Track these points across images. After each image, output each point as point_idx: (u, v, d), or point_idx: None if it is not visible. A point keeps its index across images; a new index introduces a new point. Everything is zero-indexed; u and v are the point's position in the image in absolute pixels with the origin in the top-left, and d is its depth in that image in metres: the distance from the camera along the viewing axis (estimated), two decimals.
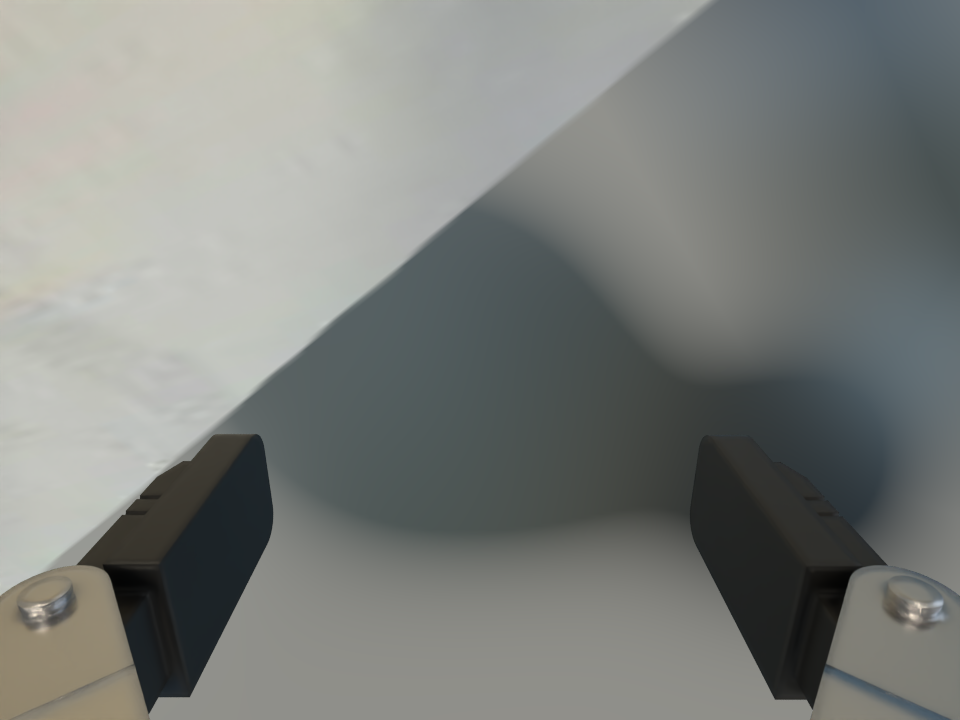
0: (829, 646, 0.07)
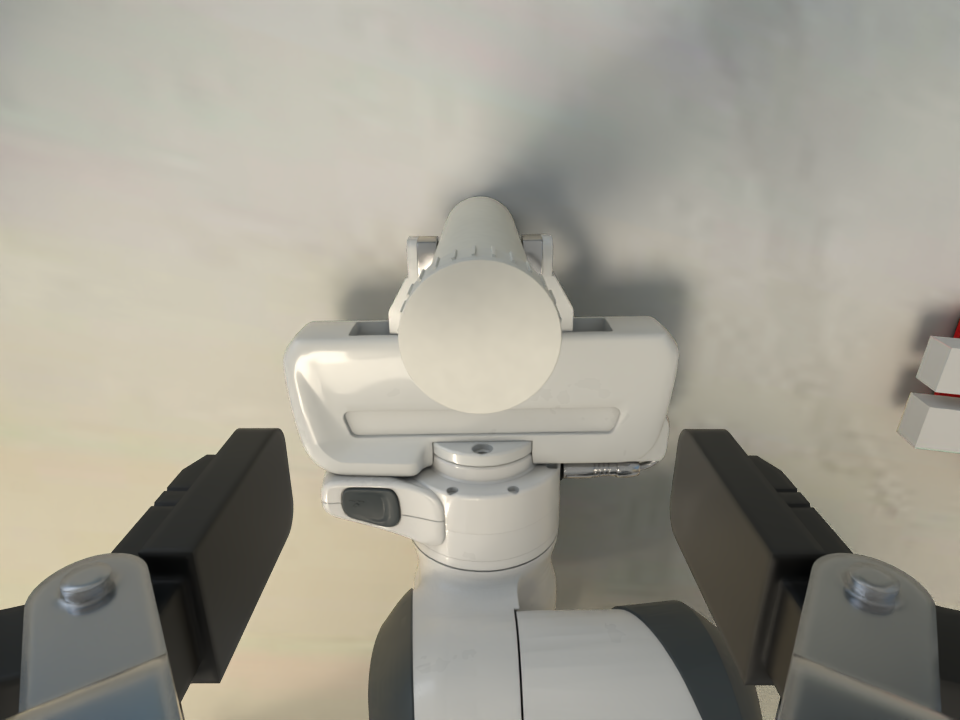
0: (793, 631, 0.07)
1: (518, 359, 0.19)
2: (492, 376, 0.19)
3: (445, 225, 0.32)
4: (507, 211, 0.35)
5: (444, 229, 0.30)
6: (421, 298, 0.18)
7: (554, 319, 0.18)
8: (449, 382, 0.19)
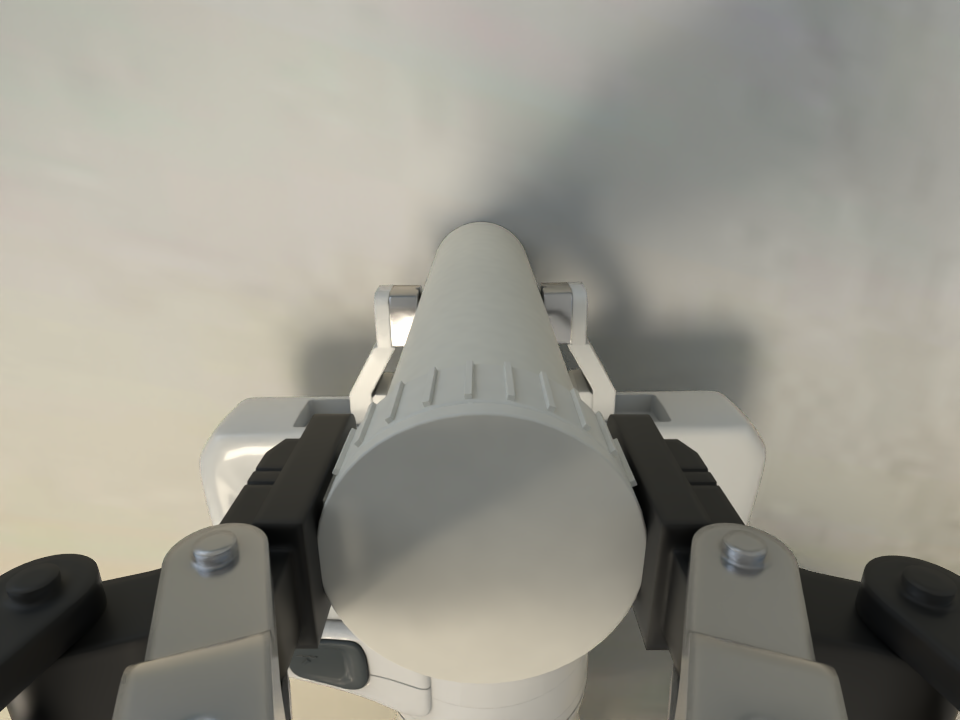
0: (680, 596, 0.08)
1: (558, 594, 0.09)
2: (505, 622, 0.09)
3: (432, 267, 0.23)
4: (518, 243, 0.25)
5: (429, 276, 0.21)
6: (360, 486, 0.09)
7: (634, 525, 0.09)
8: (421, 633, 0.10)
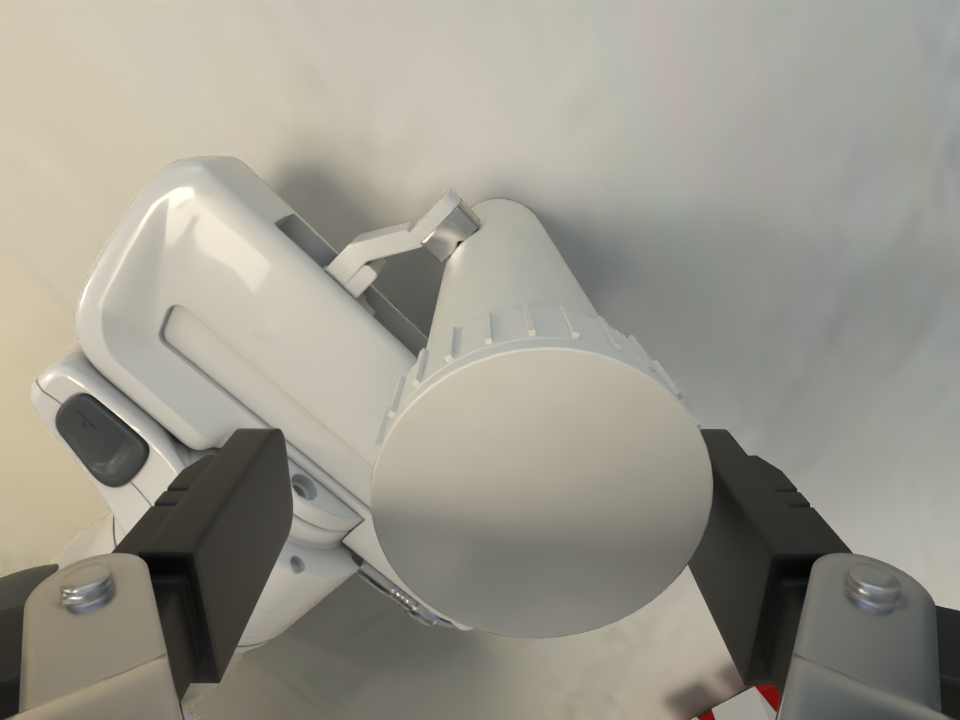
0: (794, 631, 0.07)
1: (626, 471, 0.09)
2: (621, 529, 0.09)
3: (492, 214, 0.22)
4: None
5: (495, 220, 0.21)
6: (400, 545, 0.09)
7: (603, 366, 0.08)
8: (575, 593, 0.09)
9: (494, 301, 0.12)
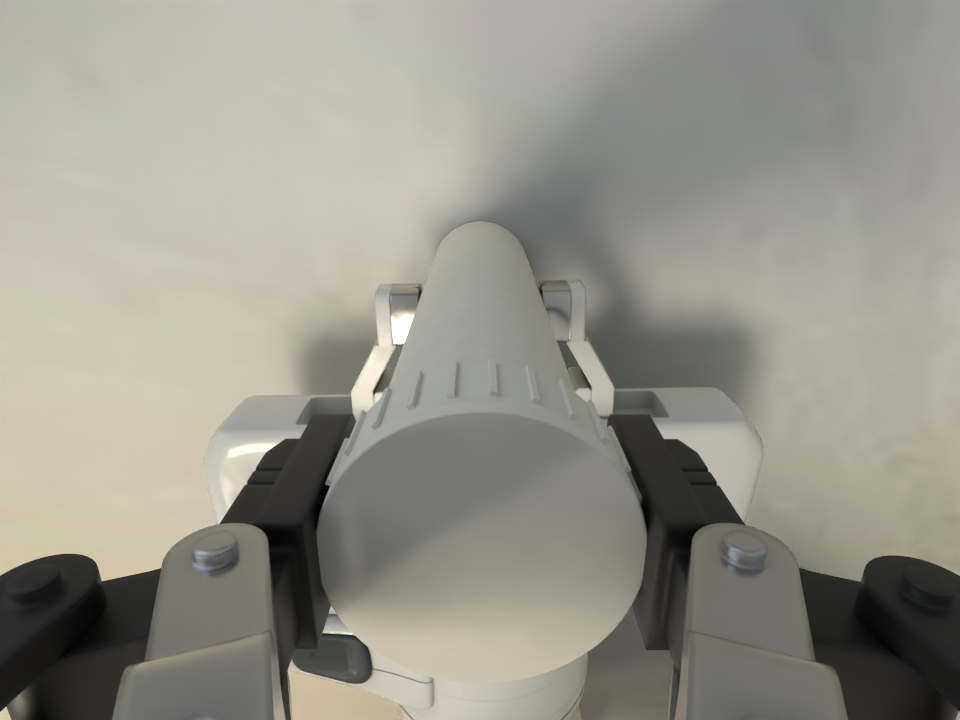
0: (680, 596, 0.08)
1: (506, 486, 0.09)
2: (554, 526, 0.09)
3: (432, 265, 0.23)
4: (517, 242, 0.26)
5: (430, 274, 0.21)
6: (424, 660, 0.10)
7: (399, 439, 0.08)
8: (583, 594, 0.09)
9: None
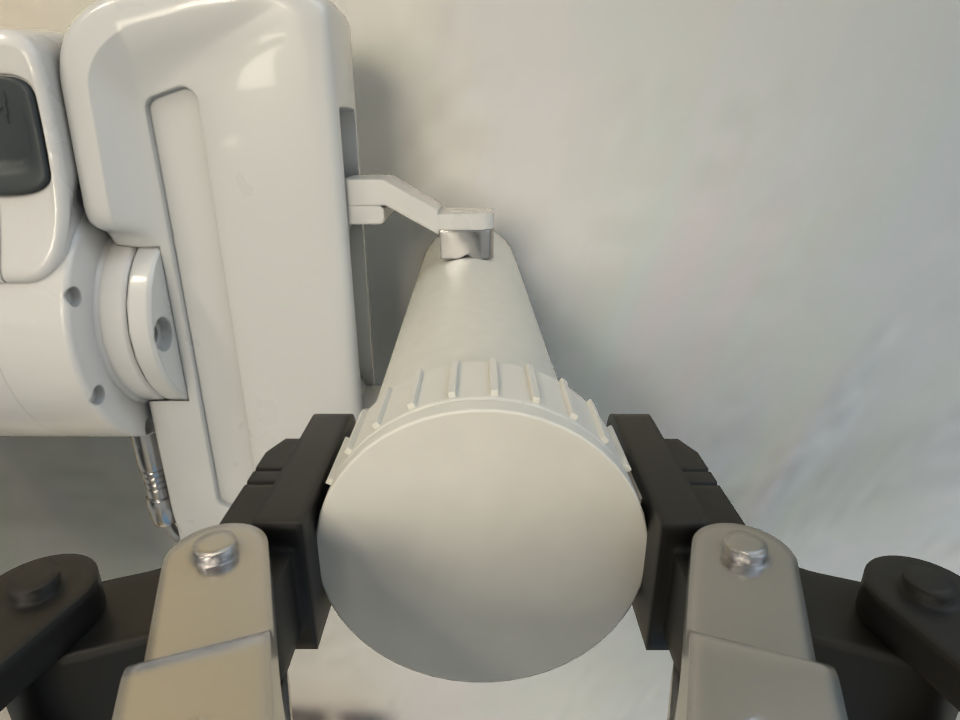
0: (680, 596, 0.08)
1: (506, 485, 0.09)
2: (555, 525, 0.09)
3: (500, 252, 0.23)
4: None
5: (504, 261, 0.21)
6: (424, 659, 0.10)
7: (399, 438, 0.08)
8: (583, 593, 0.09)
9: (519, 358, 0.12)
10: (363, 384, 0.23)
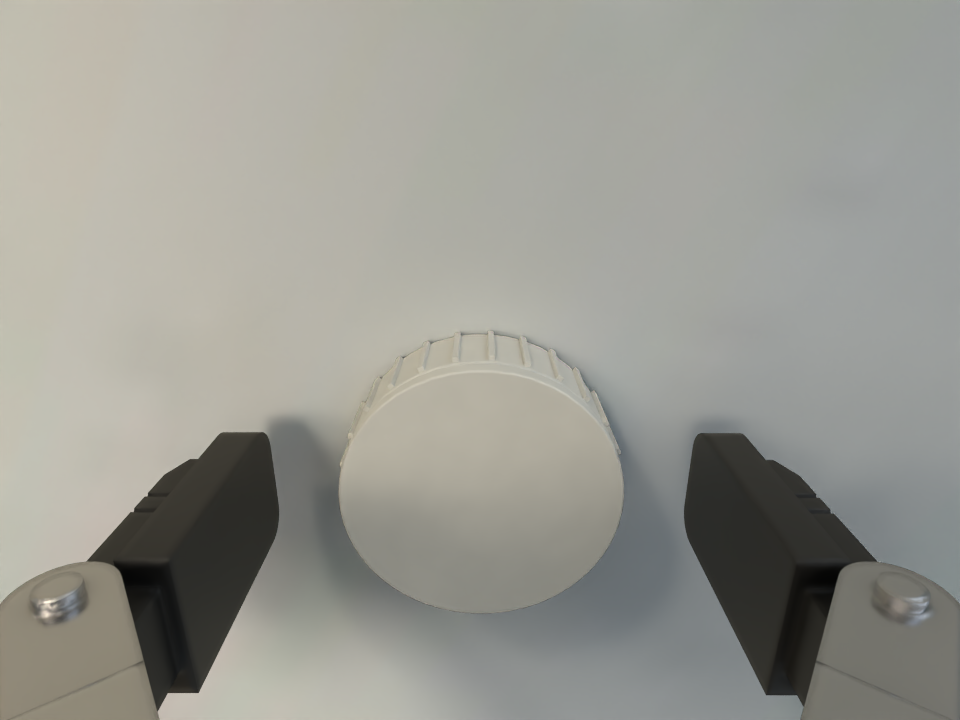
0: (819, 641, 0.07)
1: (502, 437, 0.10)
2: (543, 471, 0.10)
3: None
4: None
5: None
6: (432, 592, 0.11)
7: (411, 396, 0.10)
8: (569, 532, 0.11)
9: None
10: None
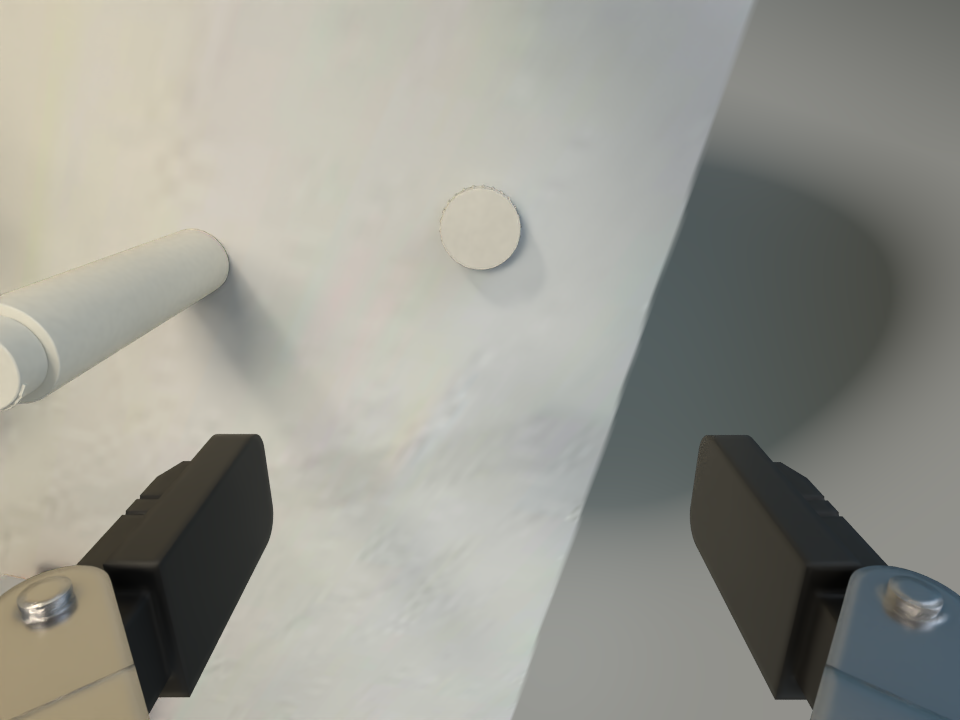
0: (829, 646, 0.07)
1: (486, 209, 0.37)
2: (497, 220, 0.37)
3: (183, 252, 0.35)
4: None
5: (171, 258, 0.34)
6: (465, 261, 0.38)
7: (461, 196, 0.37)
8: (505, 240, 0.38)
9: (49, 304, 0.24)
10: None
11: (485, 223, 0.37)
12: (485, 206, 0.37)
